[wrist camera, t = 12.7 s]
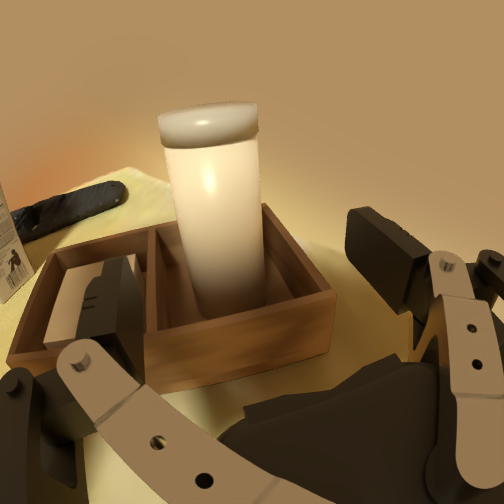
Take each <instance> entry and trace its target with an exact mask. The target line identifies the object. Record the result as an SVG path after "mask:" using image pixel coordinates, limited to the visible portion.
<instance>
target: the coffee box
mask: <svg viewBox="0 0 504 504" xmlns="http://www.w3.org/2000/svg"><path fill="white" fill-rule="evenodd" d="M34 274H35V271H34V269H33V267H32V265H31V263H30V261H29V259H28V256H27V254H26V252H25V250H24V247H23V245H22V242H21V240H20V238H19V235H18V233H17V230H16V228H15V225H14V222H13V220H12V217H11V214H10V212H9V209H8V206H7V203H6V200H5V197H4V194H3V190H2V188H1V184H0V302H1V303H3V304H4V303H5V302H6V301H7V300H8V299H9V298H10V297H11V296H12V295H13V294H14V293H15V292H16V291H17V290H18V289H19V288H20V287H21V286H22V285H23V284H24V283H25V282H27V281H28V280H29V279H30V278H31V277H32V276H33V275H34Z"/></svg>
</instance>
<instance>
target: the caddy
mask: <svg viewBox="0 0 504 504" xmlns="http://www.w3.org/2000/svg"><path fill="white" fill-rule="evenodd" d="M261 209H262V227H263V245H264V265H265V285H266V302H265V305H264V307H262V308H258V309H254V310H250V311H246V312H241V313H237V314H233V315H229V316H225V317H220V318H216V319H212V320H208V319H207V318H205V317H204V316H203V315H202V314H201V313H200V312H199V310H198V308H197V305H196V301H195V297H194V292H193V288H192V284H191V280H190V276H189V271H188V267H187V263H186V258H185V254H184V249H183V245H182V240H181V236H180V231H179V226H178V221H177V220H176V221H172V222H167V223H162V224H158V225H153V226H149V227H145V228H140V229H136V230H132V231H127V232H123V233H119V234H115V235H111V236H106V237H102V238H98V239H94V240H90V241H86V242H82V243H79V244H75V245H71V246H67V247H63V248H59V249H56V250H52V251H51V252H50V254H49V256H48V258H47V260H46V262H45V264H44V266H43V268H42V271H41V273H40V275H39V277H38V279H37V281H36V283H35V286H34V288H33V290H32V292H31V295H30V297H29V299H28V302H27V304H26V307H25V309H24V312H23V314H22V317H21V319H20V322H19V324H18V327H17V330H16V333H15V335H14V338H13V341H12V344H11V347H10V350H9V353H8V356H7V359H6V363H7V365H8V366H9V367H10V368H11V369H13V368H17V367H24V368H26V369H28V370H29V371H30V372H31V373H32V375H33V376H34V377H36V376H38V375H40V374H42V373H45V372H47V371H49V370H51V369H53V368H55V367H57V360H58V357H59V355H60V353H61V352H62V351H63V350H64V348H66V347H67V346H68V345H69V344H71V343H73V342H74V340H75V335H76V330H77V325H78V320H79V315H80V311H81V310H82V309H81V306H82V302H83V301H84V300H83V298H84V294H85V290H86V287H87V286H88V285H89V283H90V282H91V280H92V279H93V278H94V277H98V276H101V273H102V268H103V264H104V261H105V260H106V259H110V258H115V257H119V256H123V255H126V256H127V258H128V260H129V263H130V266H131V269H132V271H133V274H134V277H135V280H136V283H137V285H138V288H139V291H140V294H141V298H142V303H143V335H144V365H145V383H146V385H148V386H149V387H150V388H151V389H153V390H154V391H155V392H156V393H157V394H158V395H161V394H166V393H172V392H177V391H183V390H188V389H193V388H198V387H202V386H207V385H212V384H216V383H220V382H225V381H229V380H233V379H237V378H241V377H245V376H249V375H253V374H257V373H260V372H264V371H268V370H271V369H275V368H278V367H282V366H285V365H288V364H292V363H295V362H298V361H301V360H305V359H308V358H311V357H314V356H317V355H320V354H323V353H326V352H329V345H330V339H331V333H332V326H333V319H334V312H335V305H336V297H337V295H336V294H335V292H334V291H333V290H332V288H331V287H330V286H329V284H328V283H327V282H326V280H325V279H324V278H323V276H322V275H321V274H320V272H319V271H318V270H317V268H316V267H315V266H314V264H313V263H312V262H311V260H310V259H309V258H308V257H307V255H306V254H305V253H304V251H303V250H302V249H301V247H300V246H299V245H298V244H297V242H296V241H295V240H294V238H293V237H292V236H291V235H290V233H289V232H288V231H287V229H286V228H285V227H284V226H283V224H282V223H281V222H280V221H279V219H278V218H277V217H276V216H275V214H274V213H273V212H272V210H271V209H270V208H269V207H268V206H267V204H266V203H263V204H261Z"/></svg>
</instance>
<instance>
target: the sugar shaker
mask: <svg viewBox="0 0 504 504" xmlns="http://www.w3.org/2000/svg"><path fill="white" fill-rule="evenodd" d="M158 125H159V131H160V138H161V143H162V145H164V151H165V157H166V162H167V168H168V174H169V180H170V185H171V191H172V196H173V201H174V206H175V211H176V216H177V221H178V226H179V231H180V236H181V240H182V245H183V249H184V254H185V258H186V263H187V267H188V271H189V276H190V280H191V284H192V288H193V292H194V297H195V301H196V305H197V308H198V310H199V312H200V313H201V314H202V315H203V316H204V317H205V318H207V319H208V320H212V319H216V318H220V317H225V316H229V315H233V314H237V313H241V312H246V311H250V310H254V309H258V308H262V307H264V305H265V302H266V285H265V265H264V245H263V227H262V209H261V192H260V175H259V158H258V142H257V133H258V131H259V130H258V114H257V104H256V103H252V102H219V103H210V104H202V105H195V106H190V107H185V108H180V109H176V110H172V111H169V112H166V113H163V114H161V115H159V116H158Z"/></svg>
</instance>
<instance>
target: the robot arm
mask: <svg viewBox="0 0 504 504" xmlns="http://www.w3.org/2000/svg"><path fill="white" fill-rule="evenodd" d="M345 253H346V256H347V258H348V260H349V261H350V262H351V263H352V265H353V266H354V267H355V268H356V269H357V270H358V271H359V272H360V273H361V274H362V276H363V277H364V278H365V279H366V280H367V281H368V282H369V283H370V284H371V286H372V287H373V288H374V289H375V290H376V291H377V292H378V293H379V295H380V296H381V297H382V298H383V299H384V300H385V301H386V303H387V304H388V305H389V306H390V307H391V308H392V309H393V311H394V312H395V313H396V314H397V315H399V314H401V313H404V312H406V311H409V310H410V311H411V312H412V313H411V316H410V319H409V356H408V362H401V360H400V359H399V358H398V356H397V355H396V354H395V353H394V354H392V355H390V356H388V357H385V358H383V359H381V360H379V361H376V362H374V363H372V364H369V365H367V366H364V367H363V368H361V369H360V370H359V371H357V372H356V373H355V374H353V375H352V376H350V377H349V378H348V379H346V380H345V381H343V382H342V383H341V384H339V385H338V386H336V387H335V388H333V389H331V390H327V391H320V392H311V393H302V394H291V395H283V396H280V397H277V398H273V399H270V400H267V401H263V402H259V403H256V404H252V405H248V406H244V407H243V410H244V414H245V418H244V419H242V420H240V421H239V422H237V423H235V424H234V425H232V426H231V427H229V428H228V429H227V430H226V431H225V432H223V433H222V434H221V435H220V436H219V437H218V438H217V439H215V438H213V437H212V436H210V435H209V434H208V433H206V432H205V431H204V430H202V429H201V428H200V427H198V426H197V425H196V424H194V423H193V422H192V421H190V420H189V419H188V418H186V417H185V416H184V415H183V414H181V413H180V412H179V411H178V410H176V409H175V408H174V407H173V406H171V405H170V404H169V403H168V402H167V401H165V400H164V399H163V398H162V397H161V396H160V395H158V394H157V393H156V392H155V391H154V390H153V389H151V388H150V387H149V386H148V385H146V383H145V365H144V335H143V303H142V298H141V294H140V291H139V288H138V285H137V283H136V280H135V277H134V274H133V271H132V269H131V266H130V263H129V260H128V258H127V256H126V255H123V256H119V257H115V258H110V259H106V260H105V261H104V264H103V268H102V273H101V276H98V277H94V278H93V279H92V280H91V282H90V283H89V285H88V286H87V287H86V290H85V294H84V298H83V300H84V301H83V302H82V306H81V309H82V310H81V311H80V315H79V320H78V325H77V330H76V335H75V340H74V342H73V343H71V344H69V345H68V346H67V347H66V348H64V350H63V351H62V352H61V353H60V355H59V357H58V360H57V367H55V368H53V369H51V370H49V371H47V372H45V373H42V374H40V375H38V376H36V377H34V376H33V375H32V373H31V372H30V371H29V370H28V369H26V368H24V367H17V368H13V369H11V370H10V371H8V372H7V373H6V374H5V375H4V376H3V377H2V378H1V380H0V504H89V499H88V492H87V484H86V474H85V463H84V449H83V437H85V436H87V435H90V434H92V433H94V432H97V431H98V432H99V433H100V435H101V436H102V437H103V438H104V439H105V441H106V442H107V443H108V444H109V445H110V446H111V447H112V449H113V450H114V451H115V452H116V453H117V454H118V455H119V456H120V457H121V459H122V460H123V461H124V462H125V463H126V464H127V465H128V466H129V467H130V468H131V469H132V470H133V471H134V472H135V473H136V474H137V475H138V476H139V477H140V478H141V479H142V480H143V481H144V482H145V483H146V484H147V485H148V486H149V487H150V488H151V489H152V490H153V491H154V492H156V493H157V494H158V495H159V496H160V497H161V498H162V499H163V500H164V501H166V502H167V503H168V504H504V324H503V323H502V321H501V320H500V319H499V318H498V317H497V316H496V315H495V314H494V313H493V312H492V311H491V310H492V308H493V306H494V304H495V302H496V300H497V297H498V295H499V296H500V297H501V298H502V299H503V300H504V256H503V255H501V254H500V253H498V252H496V251H492V250H482V251H481V252H480V253H479V255H478V258H477V261H476V263H464V261H463V260H462V259H461V258H459V257H458V256H457V255H455V254H453V253H450V252H446V251H435V252H431V251H430V250H429V249H428V248H427V247H425V246H424V245H423V244H422V243H420V242H419V241H418V240H417V239H415V238H414V237H413V236H412V235H410V234H409V233H408V232H407V231H405V230H403V229H402V228H401V227H400V226H399V225H397V224H396V223H395V222H393V221H391V220H389V219H386V218H384V217H383V216H381V215H380V214H379V213H377V212H376V211H375V210H373V209H372V208H370V207H367V206H366V207H361V208H355V209H351V210H349V212H348V215H347V227H346V237H345Z"/></svg>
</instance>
